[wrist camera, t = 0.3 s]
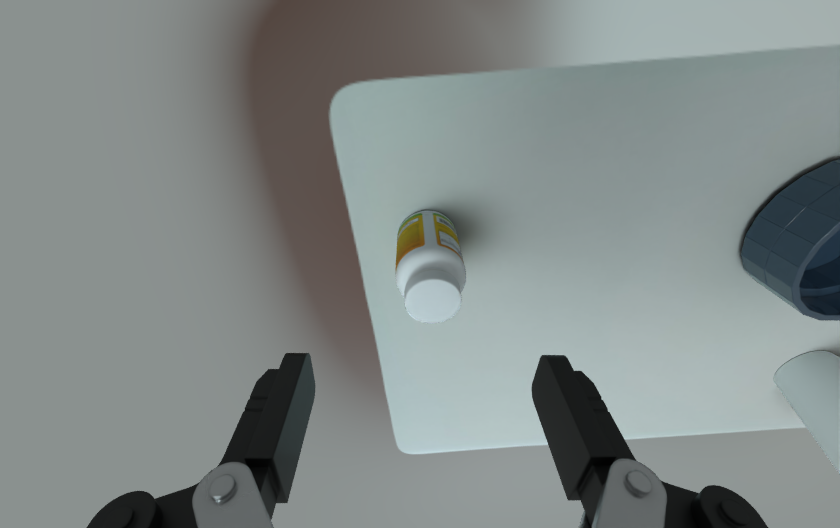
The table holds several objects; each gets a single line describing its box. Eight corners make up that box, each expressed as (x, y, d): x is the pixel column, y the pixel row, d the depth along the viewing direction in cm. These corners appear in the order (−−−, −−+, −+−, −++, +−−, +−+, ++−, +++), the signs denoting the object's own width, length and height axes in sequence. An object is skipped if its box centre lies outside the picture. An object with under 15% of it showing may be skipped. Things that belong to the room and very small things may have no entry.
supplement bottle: (397, 260, 34) (394, 332, 26) (396, 208, 31) (392, 270, 23) (454, 260, 34) (468, 331, 26) (458, 208, 31) (475, 270, 23)
